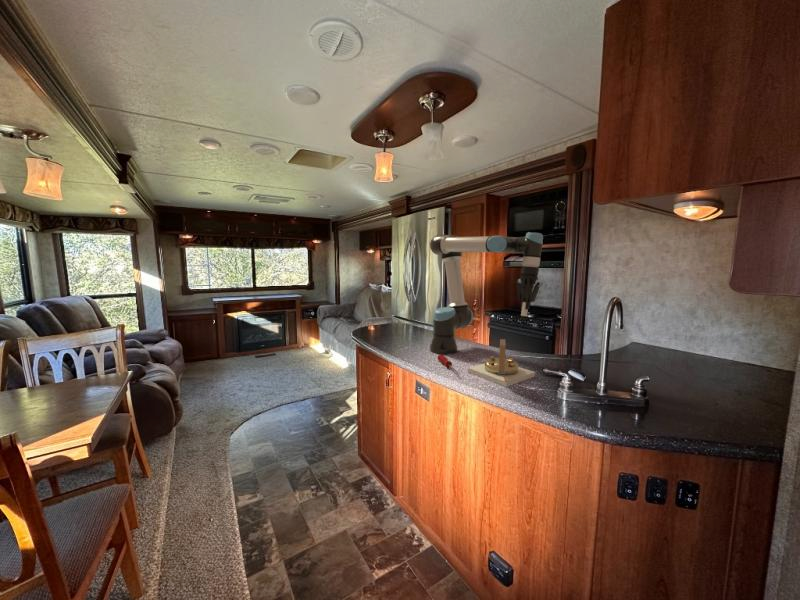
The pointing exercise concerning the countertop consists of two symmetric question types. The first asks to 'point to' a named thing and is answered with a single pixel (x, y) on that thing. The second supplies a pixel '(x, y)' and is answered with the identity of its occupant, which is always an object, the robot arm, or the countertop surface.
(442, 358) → the screwdriver
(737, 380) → the countertop surface
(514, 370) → the brass flange bracket
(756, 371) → the countertop surface
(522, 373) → the plate
